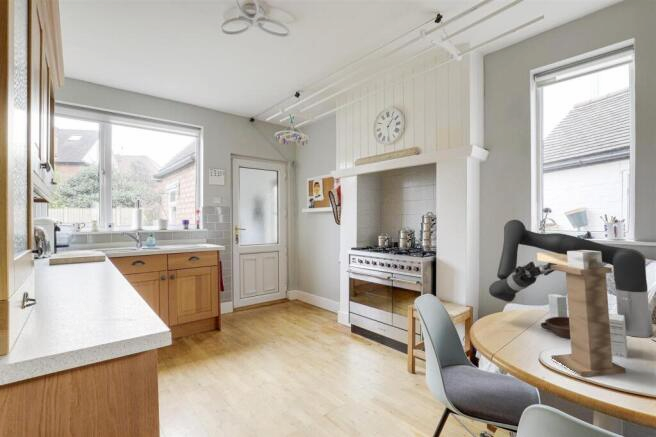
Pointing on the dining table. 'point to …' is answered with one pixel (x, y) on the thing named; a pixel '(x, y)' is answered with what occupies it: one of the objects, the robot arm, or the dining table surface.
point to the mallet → (574, 259)
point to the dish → (558, 326)
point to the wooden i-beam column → (588, 322)
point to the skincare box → (557, 305)
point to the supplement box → (618, 335)
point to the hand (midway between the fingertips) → (544, 263)
